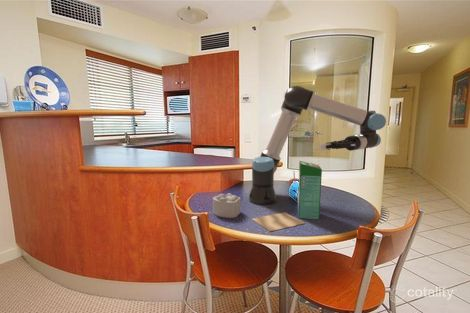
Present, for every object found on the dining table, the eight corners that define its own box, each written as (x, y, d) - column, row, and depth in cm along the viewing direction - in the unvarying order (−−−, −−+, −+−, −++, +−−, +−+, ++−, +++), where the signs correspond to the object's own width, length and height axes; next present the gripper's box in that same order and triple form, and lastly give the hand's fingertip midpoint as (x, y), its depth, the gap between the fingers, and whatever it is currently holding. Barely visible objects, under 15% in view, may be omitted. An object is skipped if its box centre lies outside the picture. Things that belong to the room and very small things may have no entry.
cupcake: (285, 188, 159) (286, 170, 158) (296, 187, 163) (296, 169, 161) (293, 192, 152) (294, 173, 150) (304, 190, 155) (305, 171, 153)
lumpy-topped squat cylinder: (234, 218, 110) (234, 200, 109) (208, 214, 115) (208, 196, 114) (242, 211, 120) (242, 193, 118) (218, 207, 124) (218, 191, 123)
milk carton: (319, 219, 109) (322, 164, 106) (298, 217, 111) (300, 163, 107) (316, 212, 118) (319, 160, 114) (297, 210, 120) (299, 160, 116)
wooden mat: (284, 212, 117) (284, 212, 117) (305, 223, 105) (305, 222, 105) (252, 219, 109) (252, 218, 109) (269, 231, 97) (269, 231, 97)
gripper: (344, 135, 132) (309, 139, 122) (366, 135, 120) (329, 140, 111) (344, 148, 133) (310, 154, 123) (366, 150, 121) (329, 156, 112)
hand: (319, 147), depth 117 cm, fingers closed
